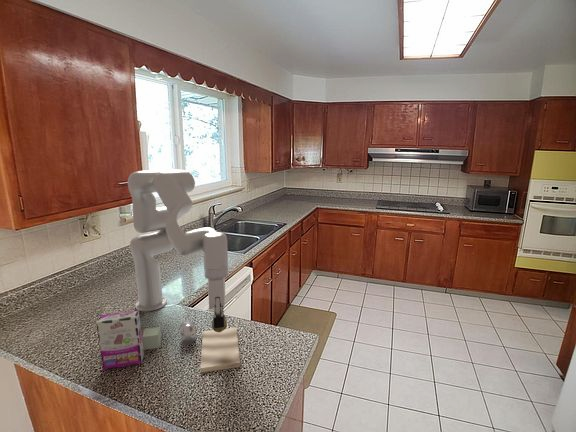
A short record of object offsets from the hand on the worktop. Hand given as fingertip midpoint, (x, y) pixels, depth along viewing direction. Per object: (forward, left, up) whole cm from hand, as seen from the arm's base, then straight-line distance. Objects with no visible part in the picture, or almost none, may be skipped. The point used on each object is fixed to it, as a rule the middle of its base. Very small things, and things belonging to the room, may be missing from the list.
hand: (219, 321), depth 104 cm
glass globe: (-8, -11, -11) cm, 17 cm away
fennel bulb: (0, 0, -3) cm, 3 cm away
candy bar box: (0, -30, -11) cm, 32 cm away
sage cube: (-8, -23, -11) cm, 27 cm away
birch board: (0, 0, -11) cm, 11 cm away
